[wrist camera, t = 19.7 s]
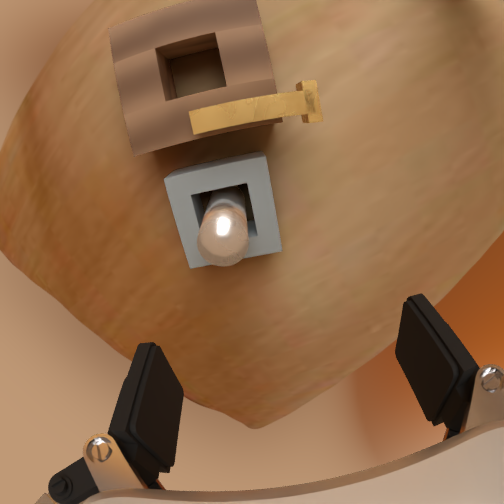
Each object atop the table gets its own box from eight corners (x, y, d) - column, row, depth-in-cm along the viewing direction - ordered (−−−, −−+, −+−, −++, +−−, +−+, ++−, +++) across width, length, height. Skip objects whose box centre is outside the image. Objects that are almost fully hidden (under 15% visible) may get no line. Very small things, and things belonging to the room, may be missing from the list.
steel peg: (206, 188, 33) (190, 224, 22) (241, 180, 32) (243, 213, 22) (214, 220, 34) (204, 270, 23) (247, 213, 34) (253, 261, 23)
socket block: (128, 41, 24) (108, 28, 19) (250, 9, 24) (252, -11, 18) (151, 149, 30) (134, 156, 25) (274, 121, 30) (282, 122, 24)
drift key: (191, 104, 23) (186, 102, 21) (308, 83, 22) (315, 80, 20) (199, 141, 24) (195, 144, 22) (315, 120, 24) (323, 121, 22)
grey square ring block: (174, 170, 31) (163, 178, 27) (261, 150, 31) (265, 156, 26) (196, 249, 36) (190, 268, 31) (276, 233, 35) (282, 250, 31)
